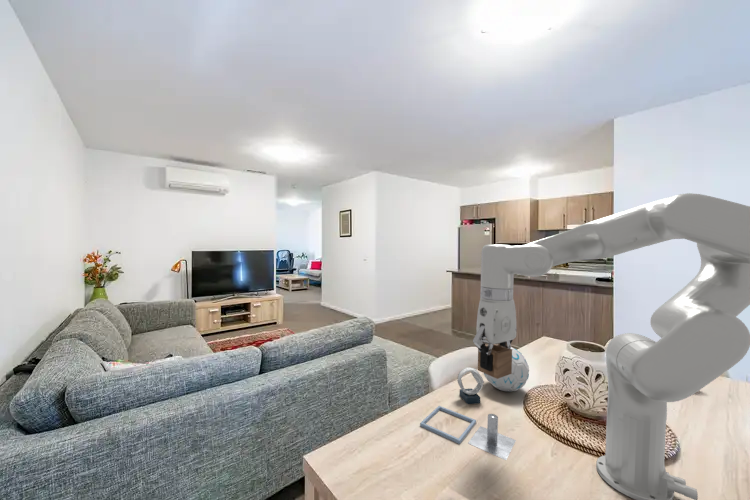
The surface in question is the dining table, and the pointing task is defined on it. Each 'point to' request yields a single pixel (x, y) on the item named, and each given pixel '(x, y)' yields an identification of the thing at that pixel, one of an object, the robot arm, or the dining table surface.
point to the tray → (424, 425)
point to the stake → (492, 439)
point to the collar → (499, 362)
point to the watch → (470, 394)
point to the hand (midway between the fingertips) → (494, 365)
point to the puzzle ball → (516, 378)
